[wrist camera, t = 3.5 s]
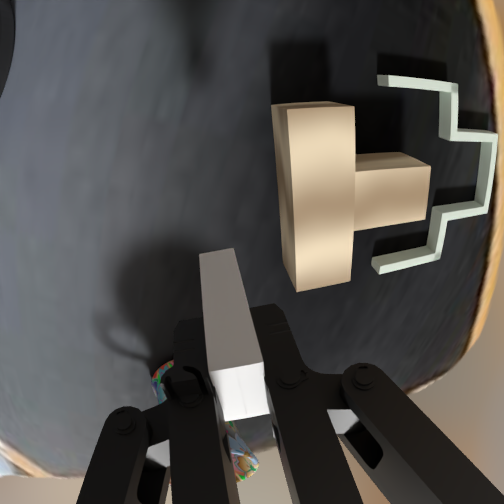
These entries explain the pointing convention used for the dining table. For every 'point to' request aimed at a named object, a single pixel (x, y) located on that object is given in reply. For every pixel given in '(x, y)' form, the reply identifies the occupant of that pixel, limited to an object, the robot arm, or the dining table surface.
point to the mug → (241, 454)
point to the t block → (335, 190)
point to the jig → (449, 211)
